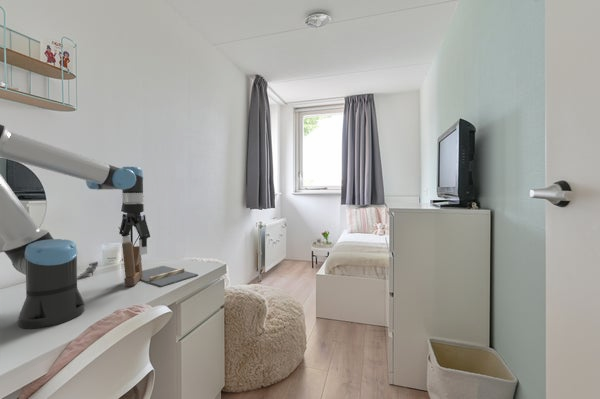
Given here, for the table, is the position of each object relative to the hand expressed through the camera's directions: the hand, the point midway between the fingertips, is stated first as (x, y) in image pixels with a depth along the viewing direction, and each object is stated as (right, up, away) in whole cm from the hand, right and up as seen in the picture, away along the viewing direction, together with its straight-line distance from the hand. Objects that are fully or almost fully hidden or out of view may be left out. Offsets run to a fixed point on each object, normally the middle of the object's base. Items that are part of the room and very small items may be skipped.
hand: (134, 252), depth 115 cm
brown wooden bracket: (0, -13, 0) cm, 13 cm away
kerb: (+11, -13, +7) cm, 18 cm away
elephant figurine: (-26, -13, +10) cm, 31 cm away
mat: (+7, -13, +10) cm, 17 cm away
